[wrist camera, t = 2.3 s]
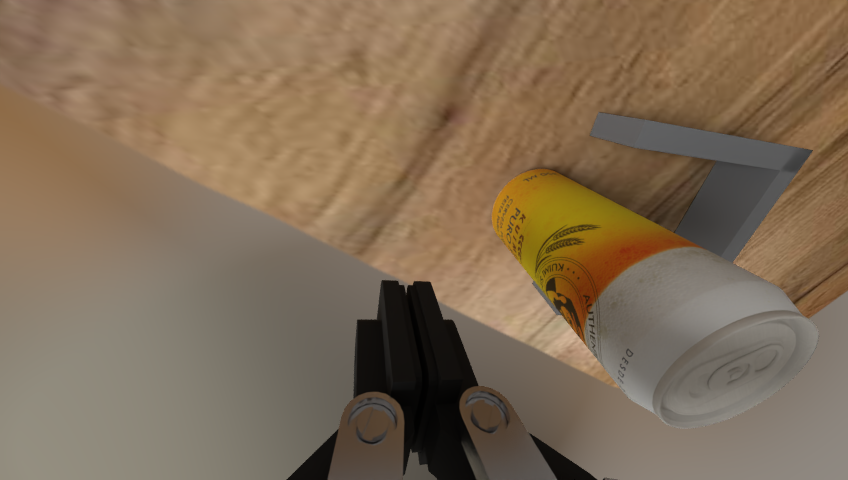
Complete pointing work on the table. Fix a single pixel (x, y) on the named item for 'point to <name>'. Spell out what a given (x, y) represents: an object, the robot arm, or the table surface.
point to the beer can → (654, 302)
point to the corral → (714, 178)
